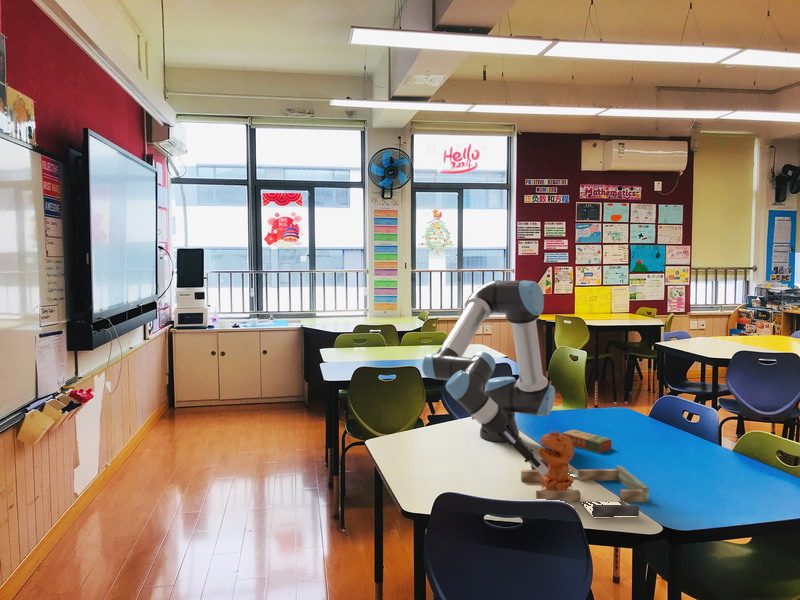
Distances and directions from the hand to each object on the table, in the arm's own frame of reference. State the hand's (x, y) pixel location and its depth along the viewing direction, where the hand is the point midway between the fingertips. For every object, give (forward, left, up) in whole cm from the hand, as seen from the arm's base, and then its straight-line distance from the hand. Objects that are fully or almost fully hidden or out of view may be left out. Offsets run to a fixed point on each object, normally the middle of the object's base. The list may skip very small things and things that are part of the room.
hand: (545, 472), depth 164 cm
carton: (+12, +50, -6) cm, 52 cm away
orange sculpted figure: (+3, +2, -6) cm, 7 cm away
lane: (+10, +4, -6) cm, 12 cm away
